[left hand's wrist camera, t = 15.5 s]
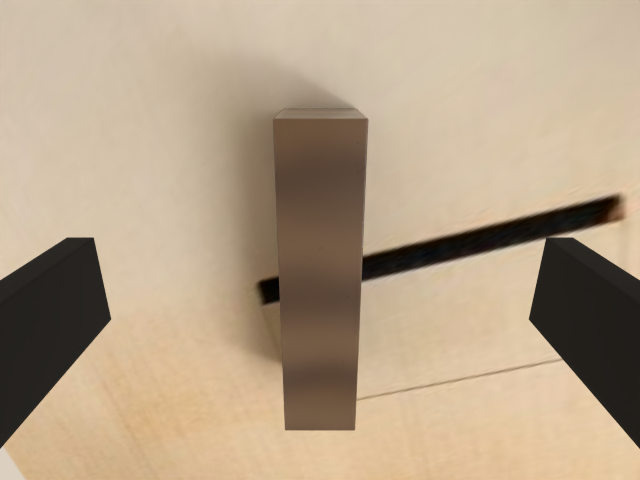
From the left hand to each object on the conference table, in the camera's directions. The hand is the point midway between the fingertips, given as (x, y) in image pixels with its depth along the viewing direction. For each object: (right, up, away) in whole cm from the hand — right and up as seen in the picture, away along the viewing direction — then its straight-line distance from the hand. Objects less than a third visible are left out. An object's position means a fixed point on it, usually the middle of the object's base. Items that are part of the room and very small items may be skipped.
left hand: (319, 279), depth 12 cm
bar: (0, 0, +24) cm, 24 cm away
